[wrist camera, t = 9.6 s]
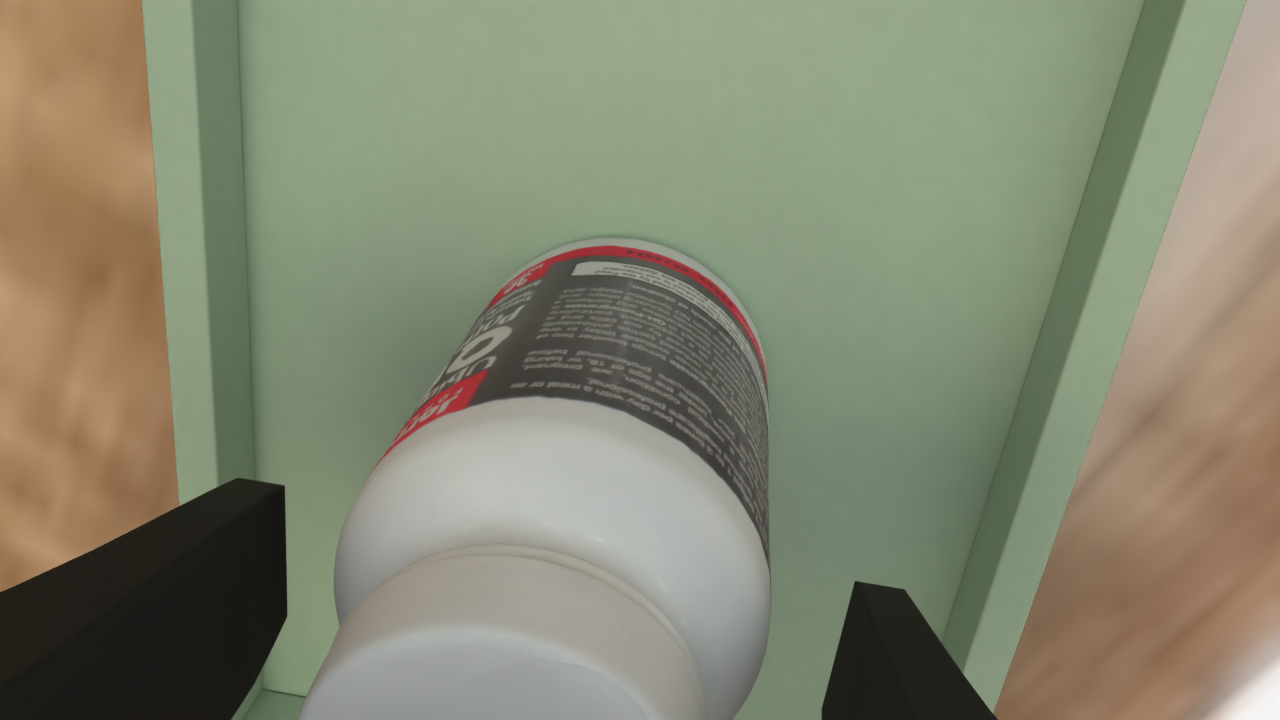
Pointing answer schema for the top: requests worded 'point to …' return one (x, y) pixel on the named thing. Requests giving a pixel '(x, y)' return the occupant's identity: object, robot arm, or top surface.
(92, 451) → the top surface
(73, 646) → the robot arm
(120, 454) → the top surface
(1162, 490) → the top surface
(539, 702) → the pill bottle
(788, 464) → the tray
